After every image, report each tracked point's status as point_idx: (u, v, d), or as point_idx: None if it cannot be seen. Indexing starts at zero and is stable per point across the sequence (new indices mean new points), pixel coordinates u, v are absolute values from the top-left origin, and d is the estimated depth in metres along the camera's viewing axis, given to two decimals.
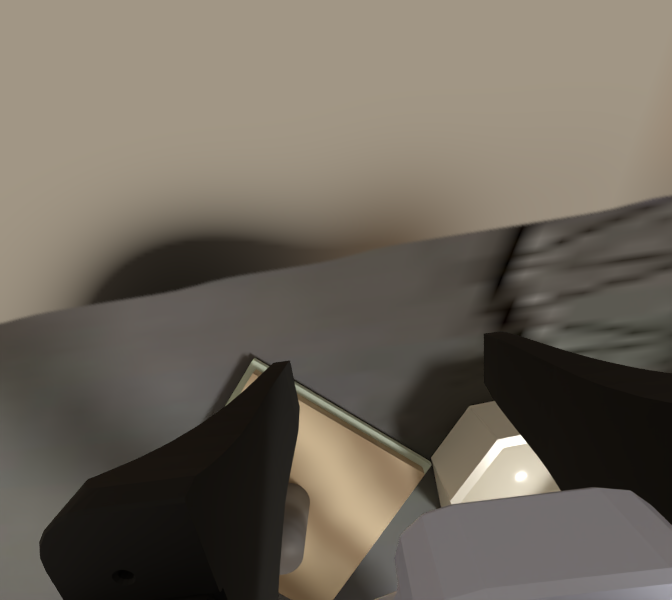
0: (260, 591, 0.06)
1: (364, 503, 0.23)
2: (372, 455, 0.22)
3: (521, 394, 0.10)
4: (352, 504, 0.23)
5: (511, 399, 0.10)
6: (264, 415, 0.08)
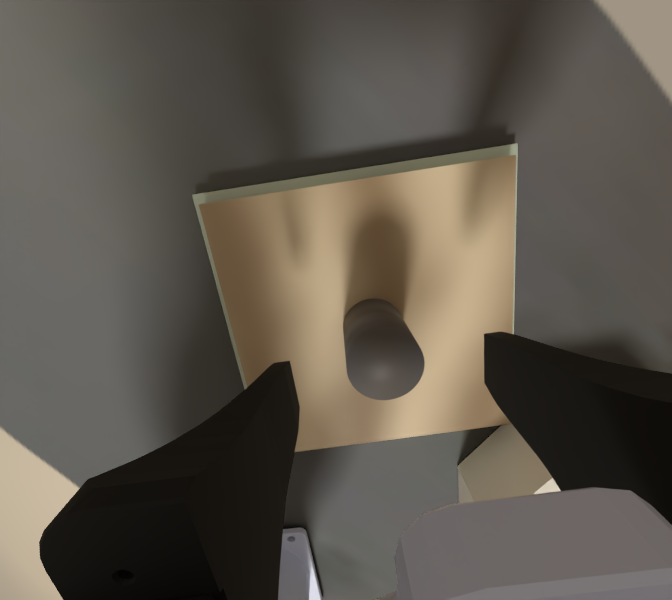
0: (260, 591, 0.07)
1: (432, 398, 0.17)
2: None
3: (521, 394, 0.10)
4: (421, 388, 0.17)
5: (511, 399, 0.10)
6: (264, 415, 0.08)
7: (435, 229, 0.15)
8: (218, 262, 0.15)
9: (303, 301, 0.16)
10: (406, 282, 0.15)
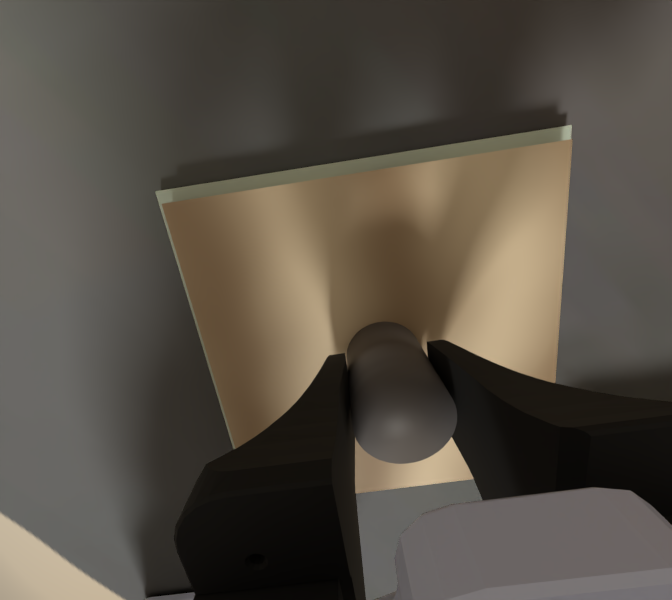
0: (359, 580, 0.06)
1: None
2: None
3: None
4: None
5: None
6: (341, 405, 0.08)
7: (464, 235, 0.12)
8: (189, 276, 0.12)
9: (297, 325, 0.13)
10: (426, 301, 0.12)
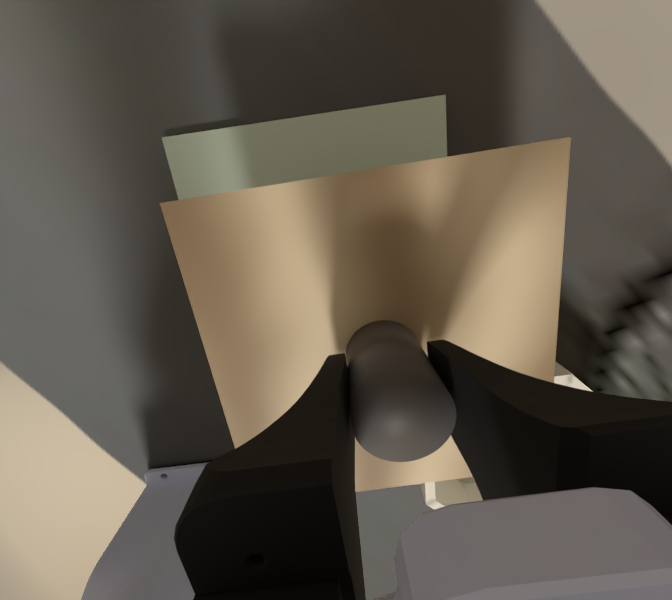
0: (359, 580, 0.06)
1: None
2: None
3: None
4: None
5: None
6: (341, 405, 0.08)
7: (463, 233, 0.12)
8: (187, 275, 0.12)
9: (296, 324, 0.13)
10: (425, 300, 0.12)
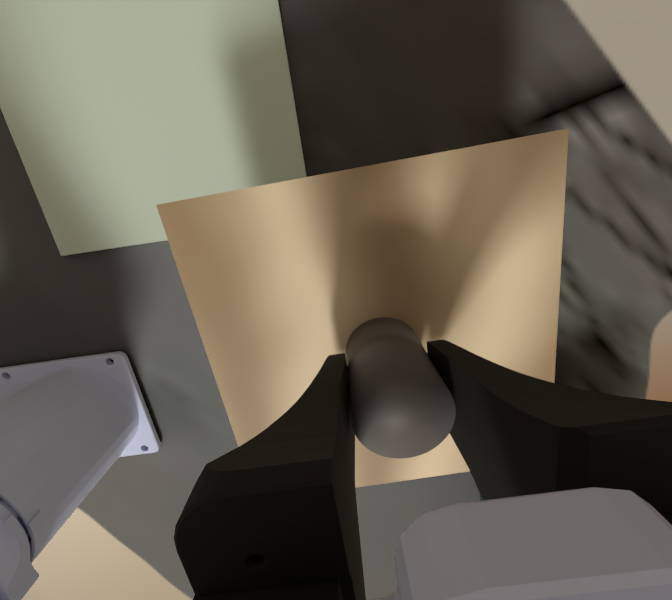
0: (359, 580, 0.06)
1: None
2: None
3: None
4: None
5: None
6: (341, 405, 0.08)
7: (461, 229, 0.11)
8: (186, 277, 0.12)
9: (295, 323, 0.13)
10: (424, 296, 0.12)
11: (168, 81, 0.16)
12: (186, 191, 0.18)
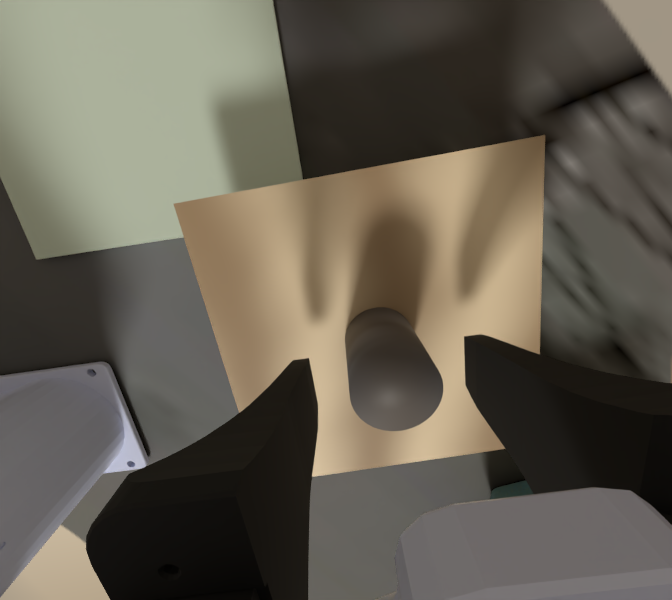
0: (294, 587, 0.06)
1: (448, 418, 0.15)
2: None
3: (497, 397, 0.10)
4: None
5: (489, 402, 0.10)
6: (291, 412, 0.08)
7: (450, 226, 0.13)
8: (199, 269, 0.13)
9: (298, 312, 0.14)
10: (417, 288, 0.13)
11: (148, 68, 0.15)
12: (171, 189, 0.16)
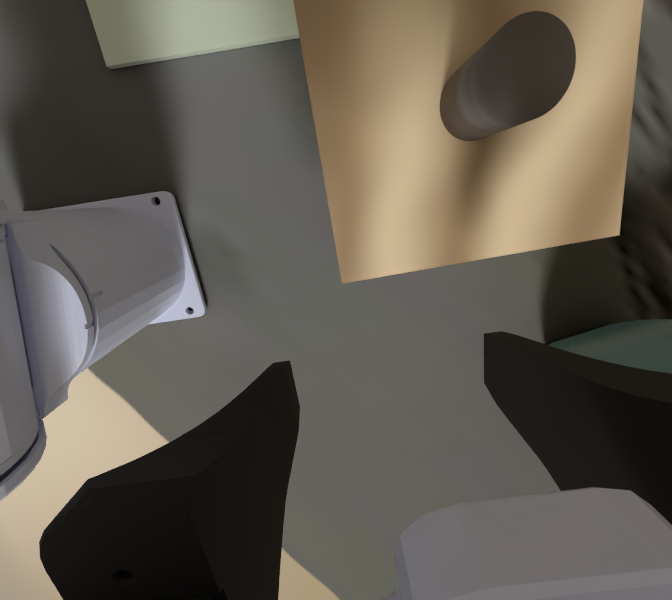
0: (260, 591, 0.06)
1: (534, 202, 0.15)
2: (611, 153, 0.15)
3: (521, 394, 0.10)
4: (523, 189, 0.15)
5: (511, 399, 0.10)
6: (264, 415, 0.08)
7: None
8: (300, 12, 0.13)
9: (396, 68, 0.14)
10: None
11: None
12: None
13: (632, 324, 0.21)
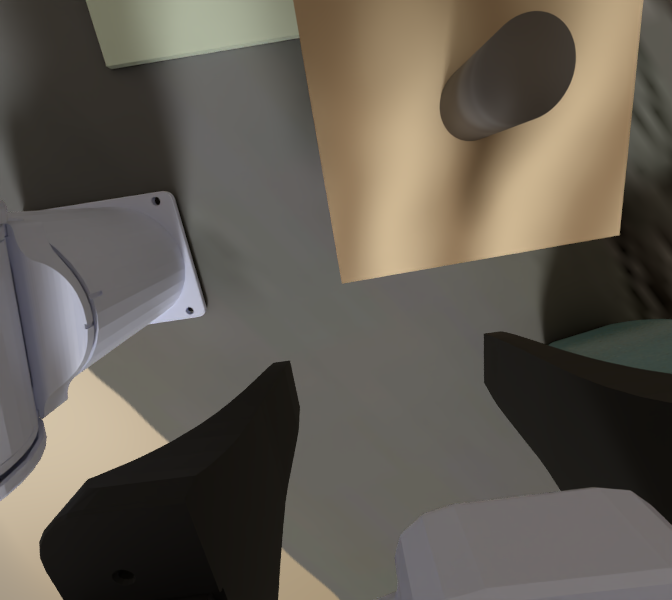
0: (260, 591, 0.06)
1: (534, 202, 0.15)
2: (611, 153, 0.15)
3: (521, 394, 0.10)
4: (523, 189, 0.15)
5: (511, 399, 0.10)
6: (264, 415, 0.08)
7: None
8: (300, 12, 0.13)
9: (396, 68, 0.14)
10: None
11: None
12: None
13: (632, 324, 0.21)
